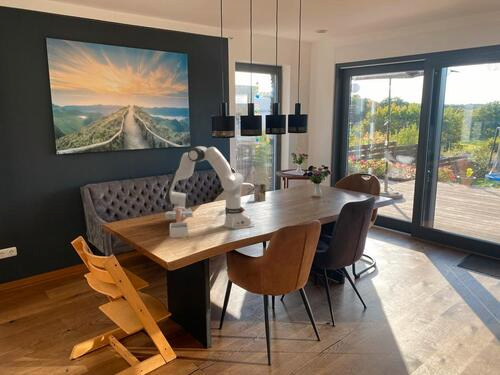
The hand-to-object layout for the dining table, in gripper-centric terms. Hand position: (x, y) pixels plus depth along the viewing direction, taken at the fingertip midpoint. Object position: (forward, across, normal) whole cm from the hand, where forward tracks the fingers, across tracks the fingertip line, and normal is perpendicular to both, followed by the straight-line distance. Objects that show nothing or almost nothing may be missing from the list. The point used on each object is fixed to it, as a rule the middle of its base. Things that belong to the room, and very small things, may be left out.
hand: (178, 217), depth 277 cm
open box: (+13, 0, +9) cm, 15 cm away
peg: (-1, 0, +8) cm, 8 cm away
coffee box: (-77, +75, +9) cm, 108 cm away
